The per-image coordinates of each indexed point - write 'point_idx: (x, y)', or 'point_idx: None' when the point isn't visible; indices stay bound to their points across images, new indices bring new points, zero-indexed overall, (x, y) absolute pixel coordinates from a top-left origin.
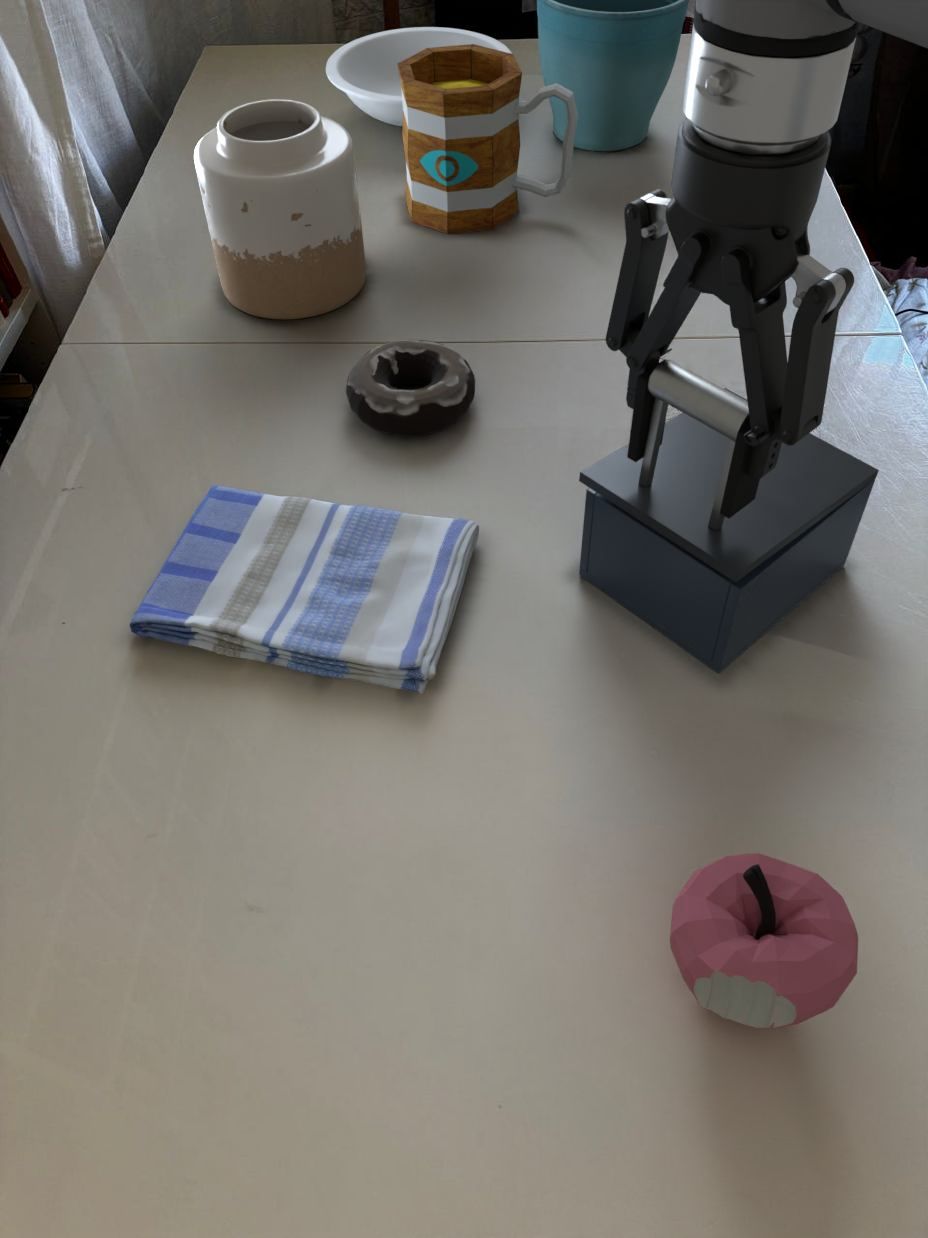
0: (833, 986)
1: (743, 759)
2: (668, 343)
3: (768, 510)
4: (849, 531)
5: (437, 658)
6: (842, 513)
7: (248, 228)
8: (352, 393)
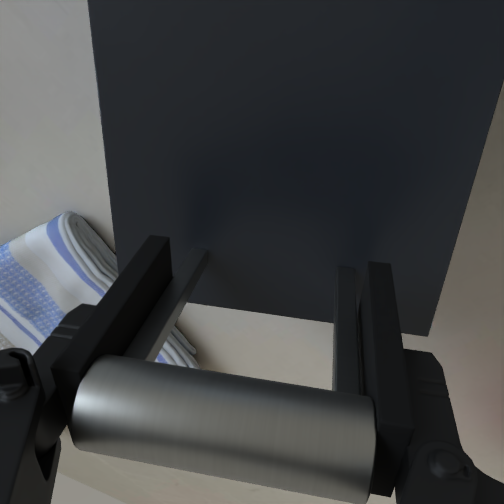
0: None
1: (478, 275)
2: (33, 442)
3: (399, 178)
4: None
5: (188, 358)
6: None
7: None
8: None
